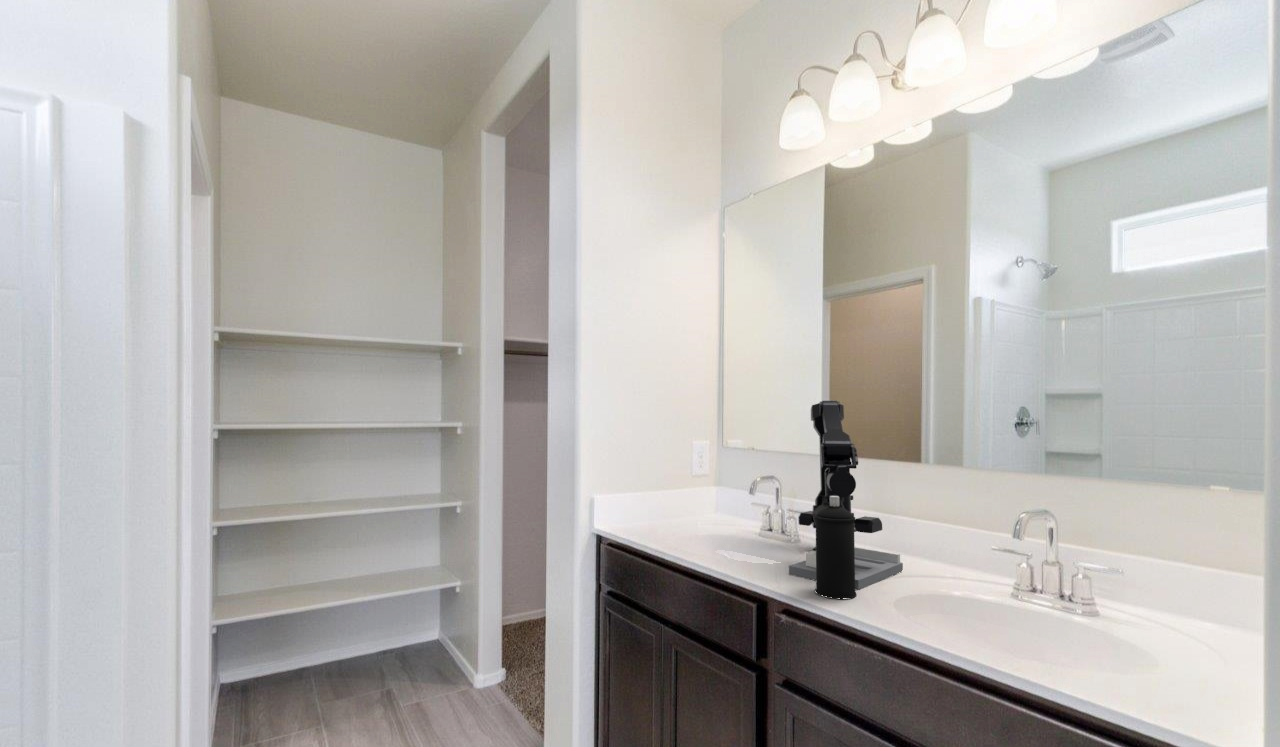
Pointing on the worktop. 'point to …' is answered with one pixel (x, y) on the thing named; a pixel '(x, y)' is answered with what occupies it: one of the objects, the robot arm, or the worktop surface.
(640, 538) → the worktop surface
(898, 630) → the worktop surface
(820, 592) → the aerosol can
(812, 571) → the breaker panel
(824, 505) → the robot arm
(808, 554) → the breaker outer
